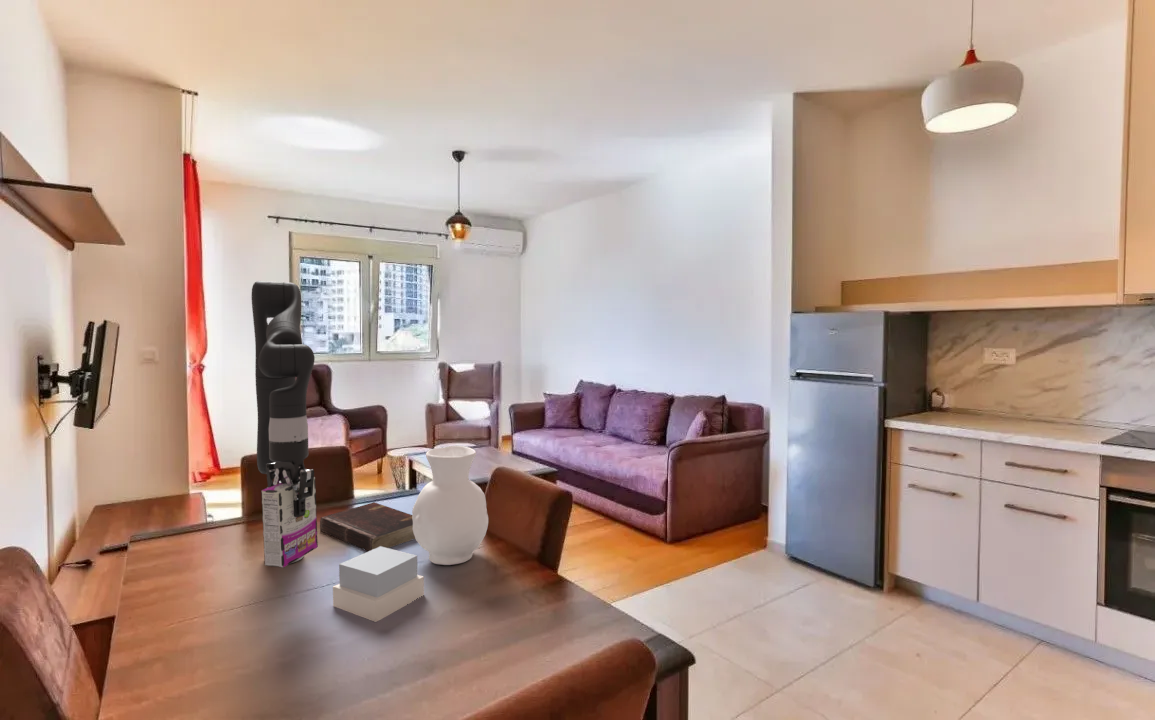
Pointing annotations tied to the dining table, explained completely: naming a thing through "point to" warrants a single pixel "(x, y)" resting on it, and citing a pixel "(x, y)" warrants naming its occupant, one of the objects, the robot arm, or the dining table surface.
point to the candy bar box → (287, 526)
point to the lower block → (378, 599)
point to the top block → (378, 571)
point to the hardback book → (370, 526)
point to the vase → (450, 508)
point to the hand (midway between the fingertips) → (290, 513)
